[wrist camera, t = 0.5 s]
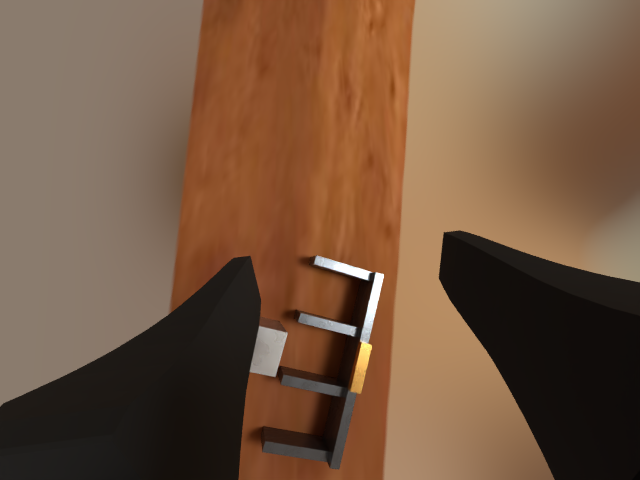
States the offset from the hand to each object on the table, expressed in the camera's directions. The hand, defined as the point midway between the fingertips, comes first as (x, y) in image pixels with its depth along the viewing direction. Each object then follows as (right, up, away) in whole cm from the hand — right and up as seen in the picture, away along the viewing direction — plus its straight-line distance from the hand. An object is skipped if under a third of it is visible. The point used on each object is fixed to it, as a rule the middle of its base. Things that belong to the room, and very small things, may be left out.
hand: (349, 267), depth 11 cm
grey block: (-10, -9, +22) cm, 26 cm away
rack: (-1, -12, +24) cm, 27 cm away
